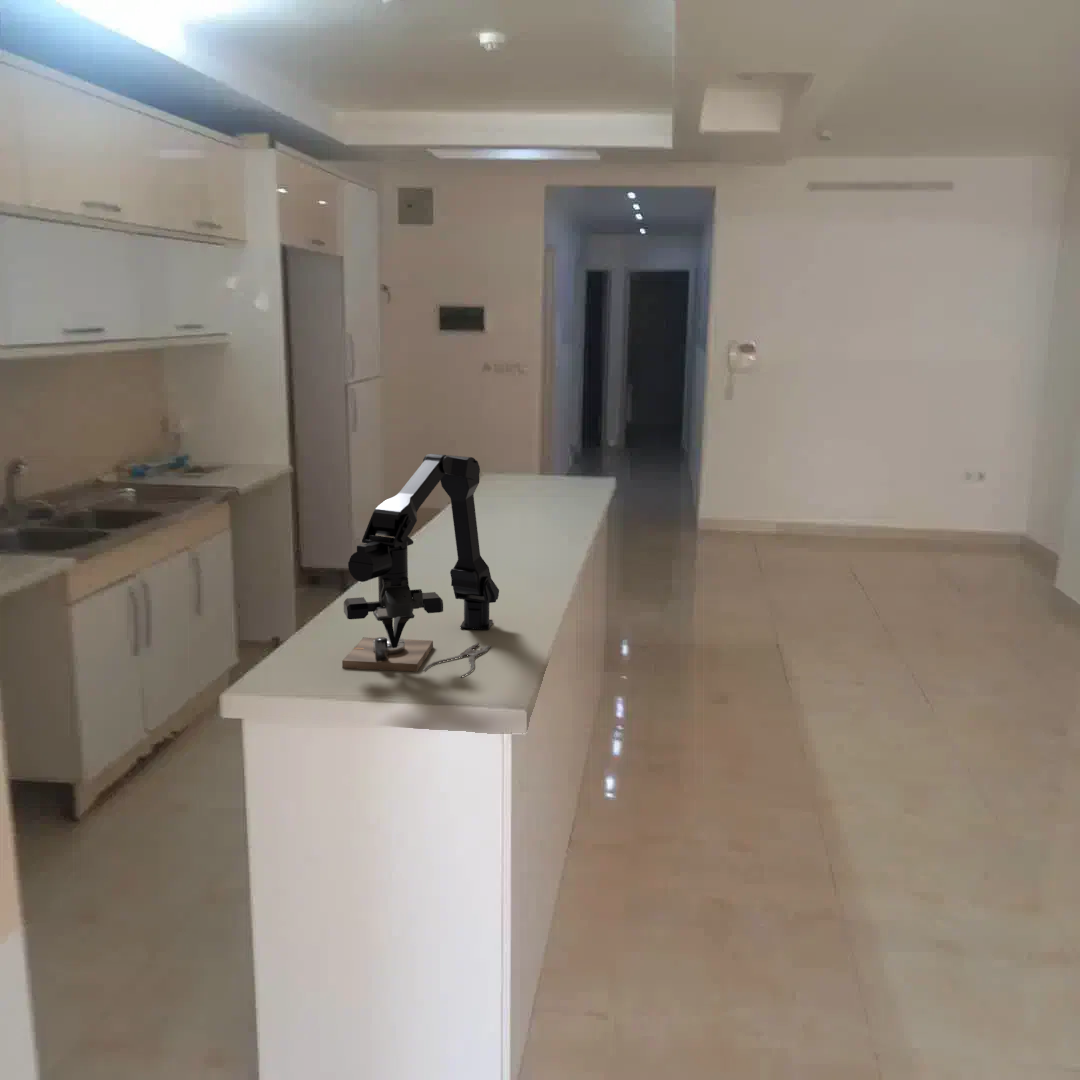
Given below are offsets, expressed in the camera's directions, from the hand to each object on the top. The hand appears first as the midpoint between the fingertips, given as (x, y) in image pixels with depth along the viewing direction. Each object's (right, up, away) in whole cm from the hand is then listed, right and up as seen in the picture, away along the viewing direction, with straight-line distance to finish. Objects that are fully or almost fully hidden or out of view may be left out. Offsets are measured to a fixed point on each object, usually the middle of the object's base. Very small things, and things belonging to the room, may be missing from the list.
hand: (394, 647), depth 200 cm
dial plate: (-2, -3, +6) cm, 7 cm away
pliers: (+12, -4, +6) cm, 14 cm away
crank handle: (-2, -1, +4) cm, 5 cm away
